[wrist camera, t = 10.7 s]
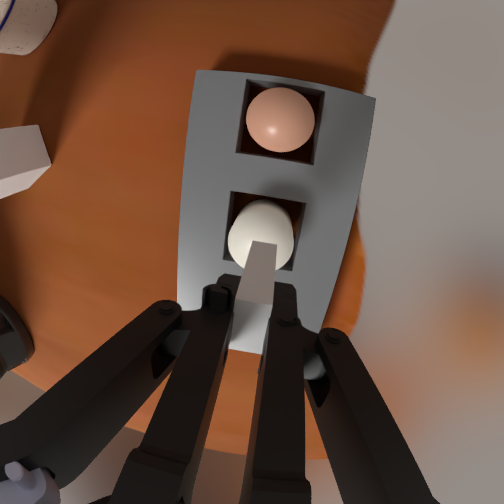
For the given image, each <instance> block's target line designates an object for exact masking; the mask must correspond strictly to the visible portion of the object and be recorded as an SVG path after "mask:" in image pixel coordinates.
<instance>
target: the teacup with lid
mask: <svg viewBox="0 0 504 504" xmlns="http://www.w3.org/2000/svg"><path fill="white" fill-rule="evenodd" d="M56 15H57V3H56V1H55V0H0V53H6V54H16V55H26V54H29V53H31V52H32V51H33V50H35V49H36V48H37V47H38V46H39V45H40V44H41V43H42V42H43V40H44V39H45V38H46V36H47V35H48V33H49V31H50V30H51V28H52V26H53V24H54V21H55V18H56Z"/></svg>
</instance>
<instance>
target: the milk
mask: <svg viewBox="0 0 504 504" xmlns="http://www.w3.org/2000/svg"><path fill="white" fill-rule="evenodd" d="M51 165H52V164H51V161H50V158H49V156H48V153H47V150H46V147H45V144H44V141H43V138H42V135H41V132H40V129H39V125H29V126H19V127H11V128H4V129H0V199H1V198H4V197H7V196H9V195H12V194H14V193H17V192H20V191H23V190H26V189H28V188H29V187H30V186H31V185H32V184H33V183H34V182H35V181H36V180H37V179H38V178H39V177H40V176H41V175H42V174H43V173H44V172H45V171H46V170H47V169H48V168H49V167H50V166H51Z"/></svg>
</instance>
